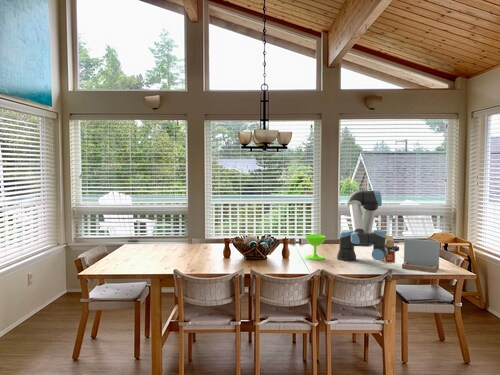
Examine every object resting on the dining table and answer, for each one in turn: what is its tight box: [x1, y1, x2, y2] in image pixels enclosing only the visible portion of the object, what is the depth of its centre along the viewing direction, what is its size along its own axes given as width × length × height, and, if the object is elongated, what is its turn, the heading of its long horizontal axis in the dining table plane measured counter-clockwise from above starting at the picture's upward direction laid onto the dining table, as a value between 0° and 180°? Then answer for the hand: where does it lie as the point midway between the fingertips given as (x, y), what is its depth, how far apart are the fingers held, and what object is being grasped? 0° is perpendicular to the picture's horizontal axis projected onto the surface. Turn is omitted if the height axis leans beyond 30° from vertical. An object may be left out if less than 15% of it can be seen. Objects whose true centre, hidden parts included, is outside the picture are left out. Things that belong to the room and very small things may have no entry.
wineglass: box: [304, 234, 326, 261], centre depth 317 cm, size 16×16×18 cm
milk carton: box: [378, 234, 396, 265], centre depth 283 cm, size 9×9×20 cm
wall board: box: [401, 238, 441, 273], centre depth 284 cm, size 24×15×20 cm, turn 59°
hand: (389, 245), depth 286 cm, fingers closed on milk carton, 9 cm apart
